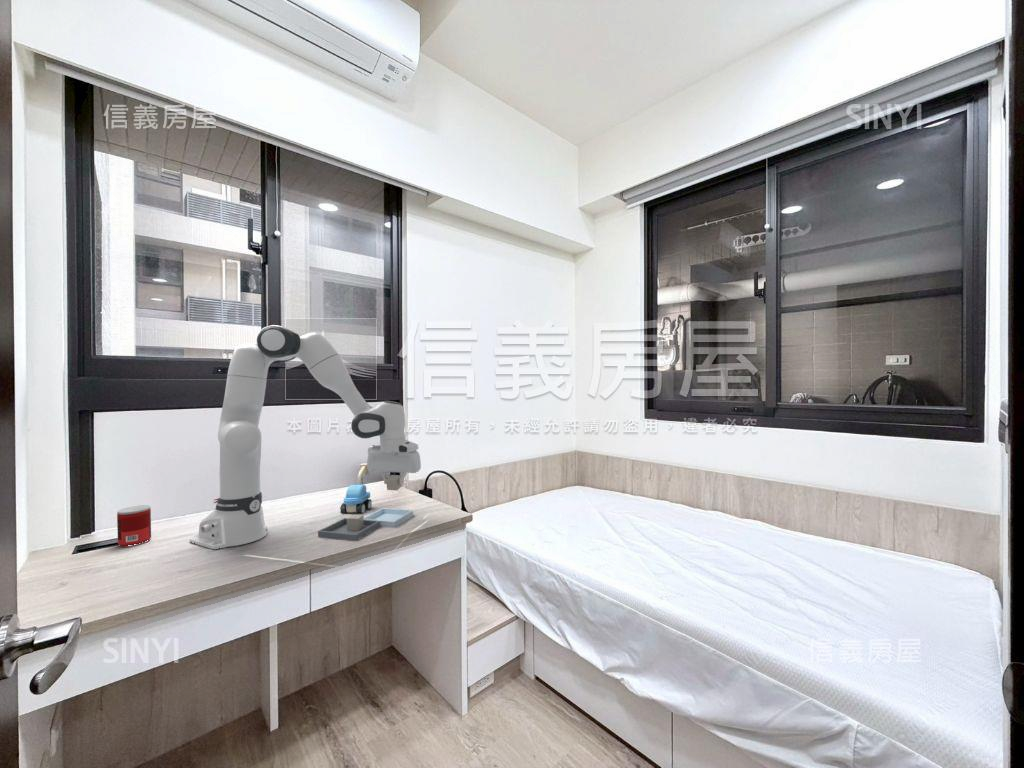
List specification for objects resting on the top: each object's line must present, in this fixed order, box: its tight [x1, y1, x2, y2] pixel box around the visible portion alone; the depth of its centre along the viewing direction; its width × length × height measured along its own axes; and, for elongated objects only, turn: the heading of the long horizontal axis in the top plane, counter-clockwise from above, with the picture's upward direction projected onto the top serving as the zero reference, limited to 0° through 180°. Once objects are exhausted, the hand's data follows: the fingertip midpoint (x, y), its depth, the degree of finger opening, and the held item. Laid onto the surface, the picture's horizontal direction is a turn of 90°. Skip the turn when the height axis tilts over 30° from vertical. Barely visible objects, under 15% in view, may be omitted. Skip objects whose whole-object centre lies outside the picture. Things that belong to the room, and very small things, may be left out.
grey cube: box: [385, 474, 404, 491], centre depth 150 cm, size 4×4×4 cm
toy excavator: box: [339, 462, 373, 515], centre depth 165 cm, size 9×17×17 cm, turn 174°
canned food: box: [116, 504, 152, 547], centre depth 133 cm, size 8×8×11 cm
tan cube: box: [346, 514, 365, 530], centre depth 142 cm, size 4×4×4 cm
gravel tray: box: [317, 517, 381, 542], centre depth 139 cm, size 14×13×2 cm
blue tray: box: [364, 507, 414, 528], centre depth 151 cm, size 13×13×2 cm
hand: (393, 484), depth 150 cm, fingers closed on grey cube, 4 cm apart
